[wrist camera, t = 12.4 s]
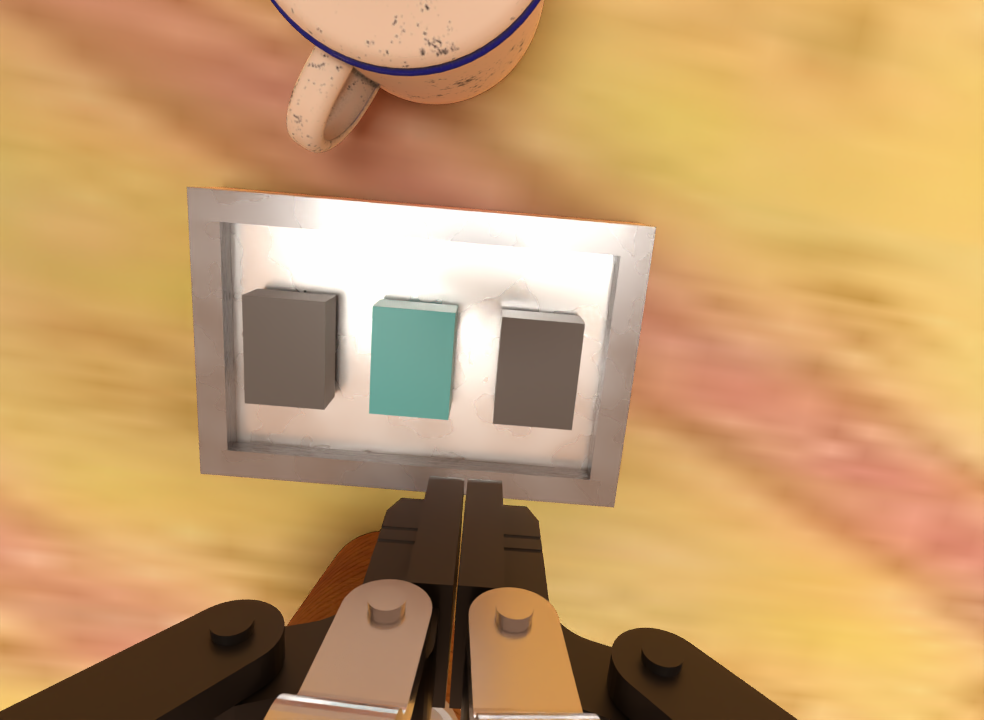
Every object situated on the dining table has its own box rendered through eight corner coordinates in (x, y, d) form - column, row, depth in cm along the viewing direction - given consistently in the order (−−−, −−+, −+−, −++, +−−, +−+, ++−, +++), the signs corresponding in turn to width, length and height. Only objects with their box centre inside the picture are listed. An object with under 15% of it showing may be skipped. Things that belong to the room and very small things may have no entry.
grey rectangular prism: (257, 288, 25) (241, 294, 24) (336, 295, 25) (325, 302, 24) (259, 390, 26) (244, 403, 25) (334, 396, 26) (324, 409, 25)
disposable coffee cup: (302, 489, 30) (179, 675, 19) (495, 514, 30) (492, 713, 19) (293, 650, 33) (179, 902, 21) (471, 672, 33) (455, 933, 21)
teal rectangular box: (380, 298, 25) (372, 305, 24) (458, 305, 25) (455, 313, 24) (376, 400, 26) (368, 413, 25) (451, 406, 26) (448, 420, 25)
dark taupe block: (502, 309, 25) (502, 317, 24) (580, 315, 25) (585, 323, 24) (493, 410, 26) (492, 423, 25) (567, 416, 26) (571, 430, 25)
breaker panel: (221, 187, 26) (187, 186, 23) (639, 223, 27) (656, 226, 24) (229, 446, 30) (200, 473, 27) (602, 476, 30) (613, 507, 27)
